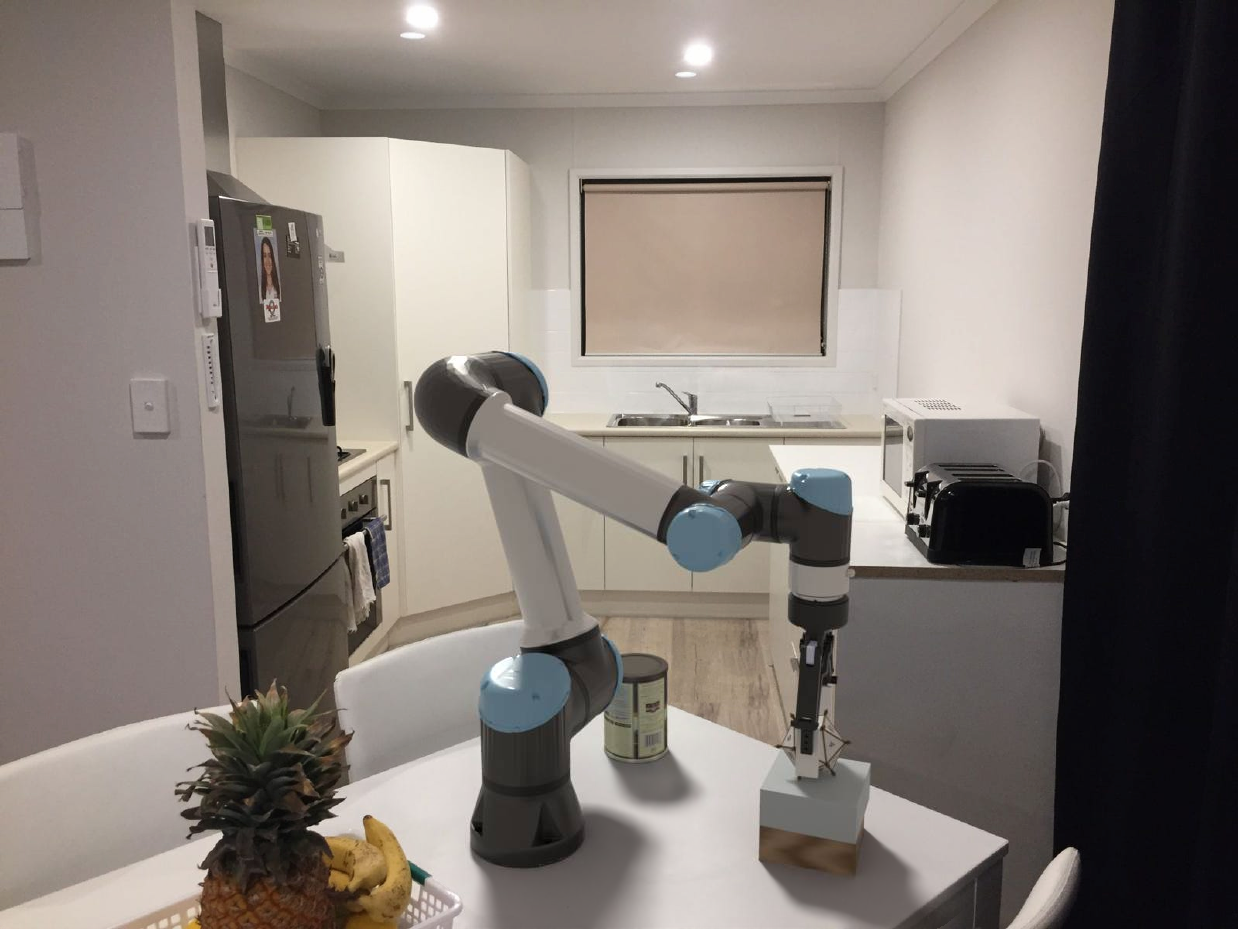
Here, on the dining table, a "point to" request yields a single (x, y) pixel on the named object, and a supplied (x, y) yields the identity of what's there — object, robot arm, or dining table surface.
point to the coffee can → (638, 711)
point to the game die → (828, 744)
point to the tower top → (816, 800)
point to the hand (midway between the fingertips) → (813, 752)
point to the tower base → (809, 851)
